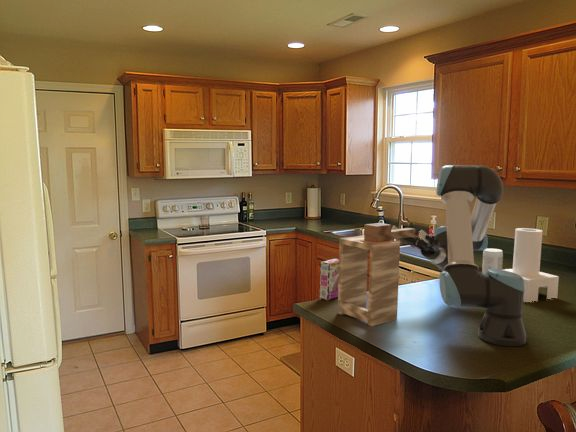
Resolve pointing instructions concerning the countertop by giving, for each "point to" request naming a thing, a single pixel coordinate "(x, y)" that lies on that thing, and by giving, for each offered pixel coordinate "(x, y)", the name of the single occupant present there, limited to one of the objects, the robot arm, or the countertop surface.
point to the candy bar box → (329, 279)
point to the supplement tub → (492, 259)
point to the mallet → (385, 232)
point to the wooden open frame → (380, 280)
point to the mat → (378, 242)
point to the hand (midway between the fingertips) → (406, 230)
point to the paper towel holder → (531, 264)
